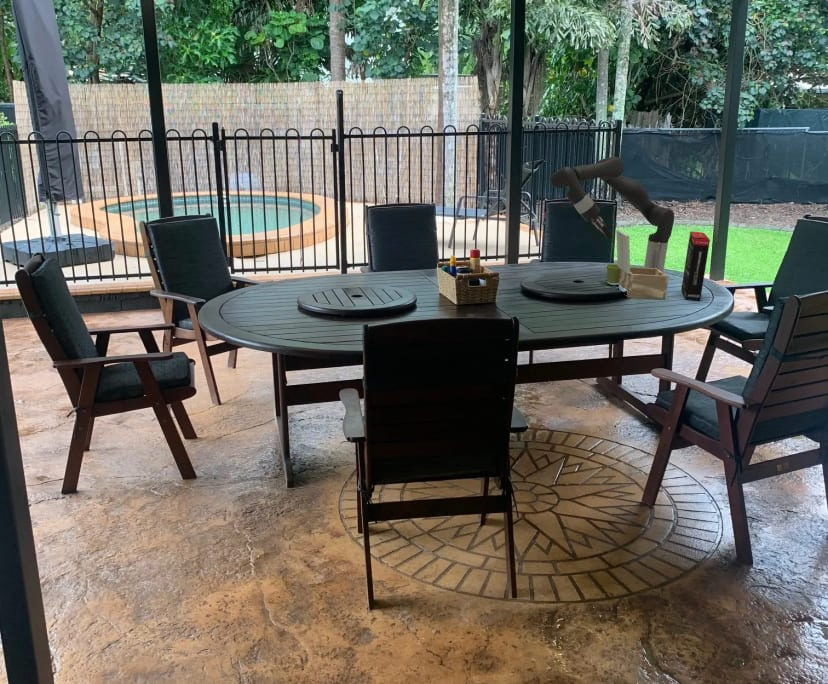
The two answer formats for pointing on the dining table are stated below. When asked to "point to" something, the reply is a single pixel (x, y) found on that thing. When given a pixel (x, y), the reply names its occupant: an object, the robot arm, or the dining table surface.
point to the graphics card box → (695, 265)
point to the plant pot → (613, 273)
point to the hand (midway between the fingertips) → (610, 237)
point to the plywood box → (644, 283)
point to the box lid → (623, 252)
